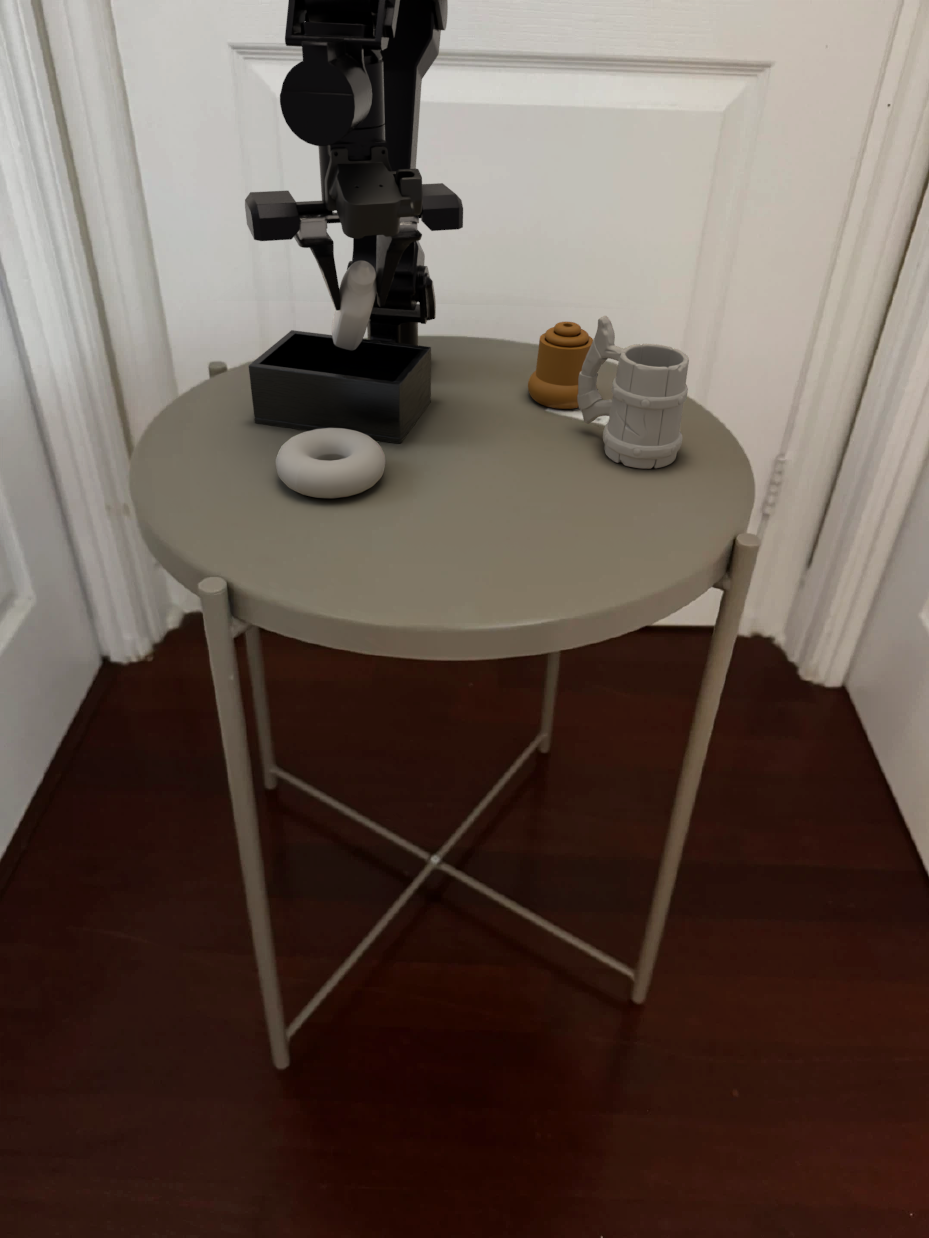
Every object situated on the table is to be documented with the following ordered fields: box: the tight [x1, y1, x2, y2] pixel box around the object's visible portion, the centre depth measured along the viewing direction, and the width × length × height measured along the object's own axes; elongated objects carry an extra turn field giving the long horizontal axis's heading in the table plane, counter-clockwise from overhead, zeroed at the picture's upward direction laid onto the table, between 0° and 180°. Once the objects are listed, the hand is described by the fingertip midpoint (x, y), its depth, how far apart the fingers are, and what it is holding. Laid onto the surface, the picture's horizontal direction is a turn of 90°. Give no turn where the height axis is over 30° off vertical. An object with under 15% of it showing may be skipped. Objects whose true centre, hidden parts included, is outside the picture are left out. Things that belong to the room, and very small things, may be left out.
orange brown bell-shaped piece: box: [527, 321, 598, 410], centre depth 100 cm, size 8×8×8 cm
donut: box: [274, 428, 387, 499], centre depth 86 cm, size 10×4×10 cm
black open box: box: [248, 329, 432, 445], centre depth 96 cm, size 11×16×6 cm
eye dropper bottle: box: [331, 261, 377, 350], centre depth 89 cm, size 4×6×12 cm
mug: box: [577, 315, 690, 470], centre depth 90 cm, size 8×12×12 cm, turn 48°
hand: (359, 307), depth 89 cm, fingers closed on eye dropper bottle, 4 cm apart
